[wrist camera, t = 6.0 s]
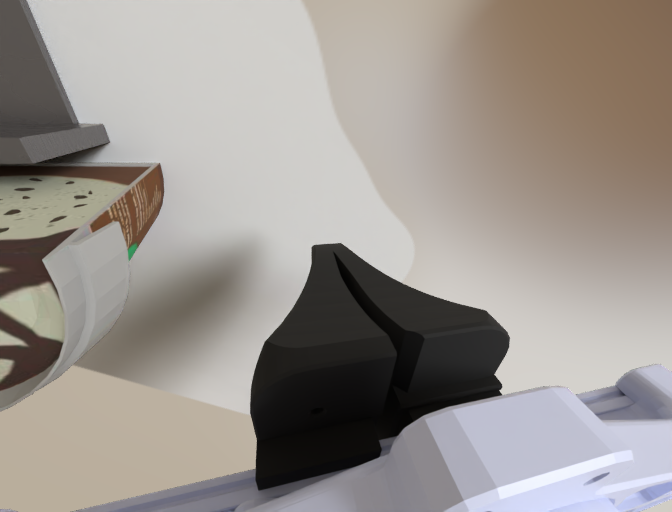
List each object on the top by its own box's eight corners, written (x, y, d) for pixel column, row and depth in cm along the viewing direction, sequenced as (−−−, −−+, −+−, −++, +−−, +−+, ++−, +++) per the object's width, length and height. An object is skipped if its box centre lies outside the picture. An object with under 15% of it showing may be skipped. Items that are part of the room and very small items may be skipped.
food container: (-18, 272, 15) (-389, 498, 6) (-108, 161, 12) (-1080, 325, 3) (212, 257, 17) (158, 406, 9) (190, 163, 14) (73, 258, 6)
